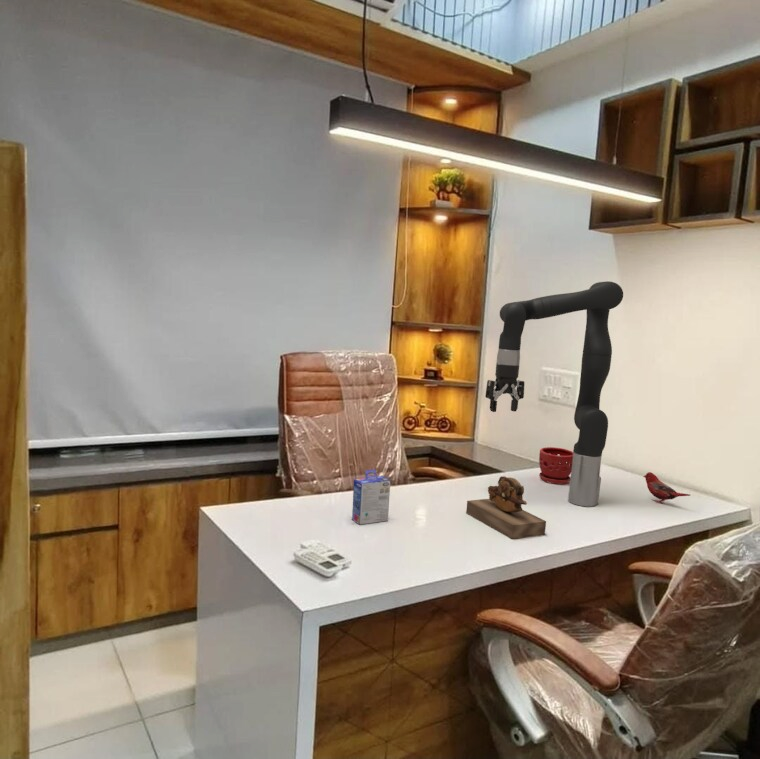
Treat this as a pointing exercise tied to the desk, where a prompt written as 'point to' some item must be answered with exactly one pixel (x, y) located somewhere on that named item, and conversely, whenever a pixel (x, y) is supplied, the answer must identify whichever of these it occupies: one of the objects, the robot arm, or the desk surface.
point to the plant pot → (555, 465)
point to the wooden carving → (507, 494)
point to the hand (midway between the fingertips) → (503, 411)
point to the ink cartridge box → (371, 499)
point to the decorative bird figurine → (660, 489)
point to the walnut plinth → (506, 519)
